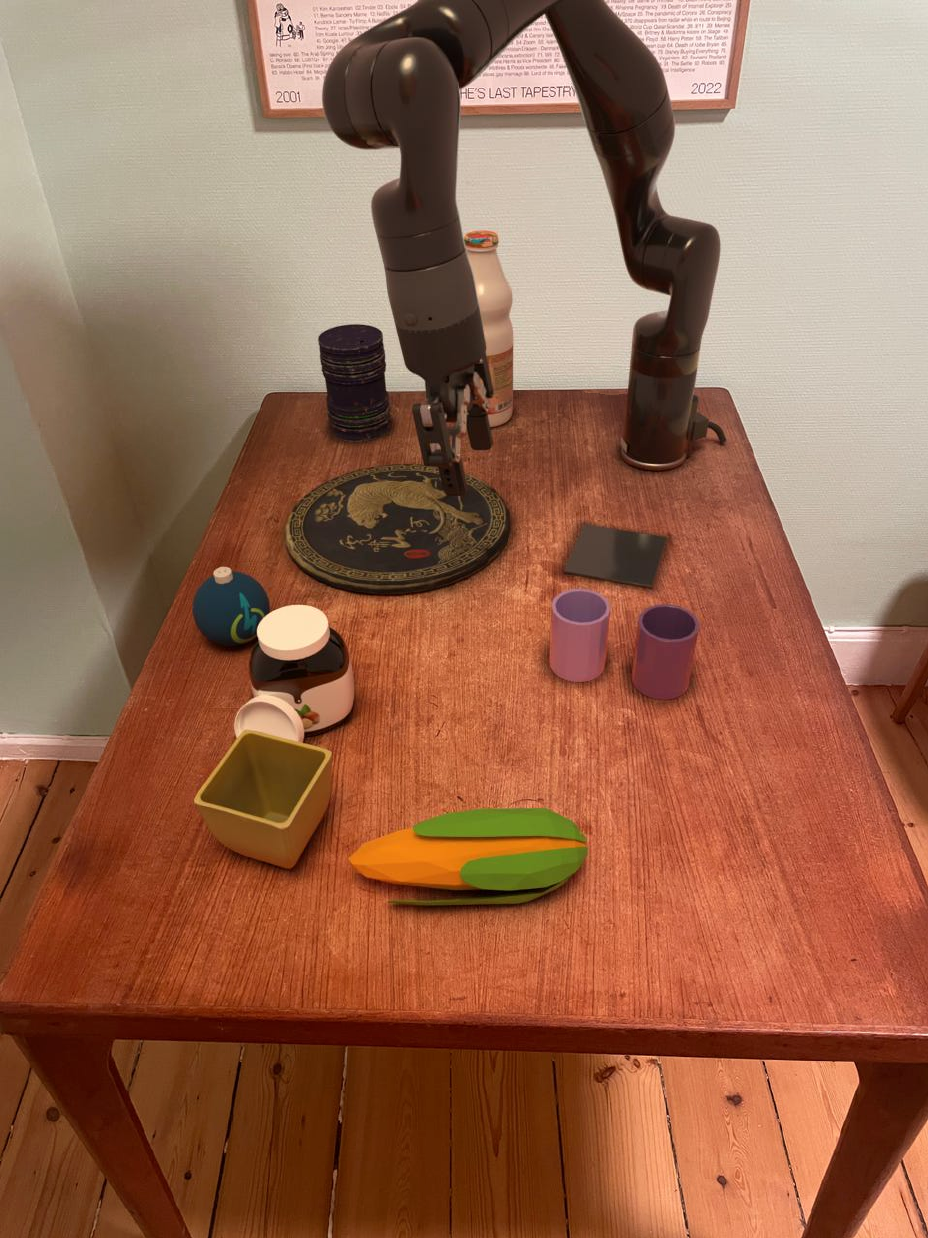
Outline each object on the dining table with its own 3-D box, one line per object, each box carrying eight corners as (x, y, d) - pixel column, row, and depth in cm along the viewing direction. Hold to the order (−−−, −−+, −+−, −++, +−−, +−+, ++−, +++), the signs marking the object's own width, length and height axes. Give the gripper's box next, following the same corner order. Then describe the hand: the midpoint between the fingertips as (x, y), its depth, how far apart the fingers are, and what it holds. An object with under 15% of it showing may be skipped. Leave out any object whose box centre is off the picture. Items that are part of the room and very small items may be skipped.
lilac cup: (585, 639, 101) (590, 582, 96) (615, 671, 97) (621, 613, 91) (539, 655, 99) (541, 598, 94) (567, 689, 95) (571, 631, 90)
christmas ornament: (205, 668, 99) (185, 597, 93) (197, 623, 105) (178, 554, 99) (281, 650, 101) (265, 579, 94) (269, 607, 107) (254, 538, 101)
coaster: (583, 526, 119) (583, 523, 118) (667, 539, 116) (667, 537, 115) (563, 573, 111) (563, 570, 110) (652, 589, 108) (652, 586, 107)
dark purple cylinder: (317, 427, 143) (304, 336, 133) (365, 407, 148) (356, 318, 138) (355, 448, 137) (343, 355, 128) (404, 427, 142) (397, 335, 133)
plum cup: (666, 655, 98) (675, 597, 93) (700, 688, 94) (711, 630, 89) (620, 672, 96) (627, 614, 91) (653, 707, 92) (661, 648, 87)
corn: (598, 851, 69) (340, 869, 69) (593, 913, 74) (350, 930, 73) (582, 782, 75) (344, 798, 75) (578, 843, 80) (354, 858, 79)
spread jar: (354, 680, 97) (342, 595, 89) (363, 758, 88) (350, 670, 81) (242, 696, 95) (220, 611, 88) (240, 776, 87) (215, 689, 79)
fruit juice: (455, 430, 141) (448, 246, 123) (454, 403, 148) (447, 226, 130) (514, 428, 141) (516, 243, 123) (511, 401, 148) (512, 223, 130)
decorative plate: (503, 589, 105) (256, 579, 108) (503, 602, 106) (258, 592, 109) (516, 464, 129) (312, 459, 131) (516, 476, 130) (313, 471, 132)
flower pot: (346, 815, 82) (334, 749, 77) (302, 894, 76) (286, 828, 70) (261, 793, 85) (244, 727, 79) (213, 867, 78) (190, 801, 73)
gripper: (450, 341, 71) (485, 511, 81) (499, 274, 81) (525, 433, 91) (365, 346, 74) (410, 510, 84) (423, 281, 84) (456, 434, 94)
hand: (470, 470), depth 88 cm, fingers open, 8 cm apart
